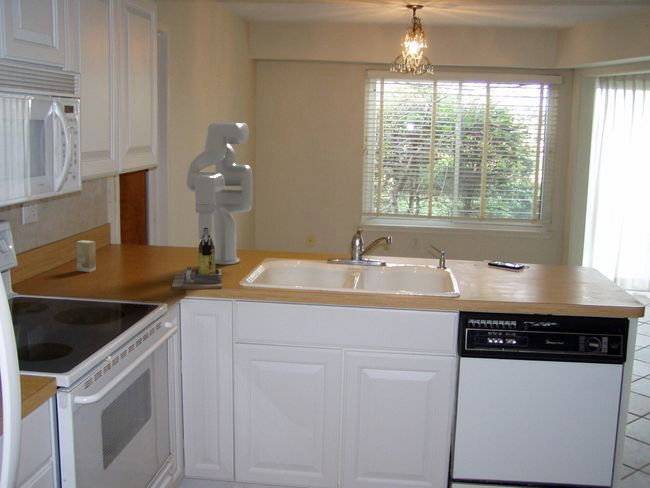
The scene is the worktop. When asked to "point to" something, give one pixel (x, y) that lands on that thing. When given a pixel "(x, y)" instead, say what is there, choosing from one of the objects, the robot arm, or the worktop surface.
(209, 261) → the sauce bottle
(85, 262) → the skincare box
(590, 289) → the worktop surface
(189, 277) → the gate
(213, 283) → the board
